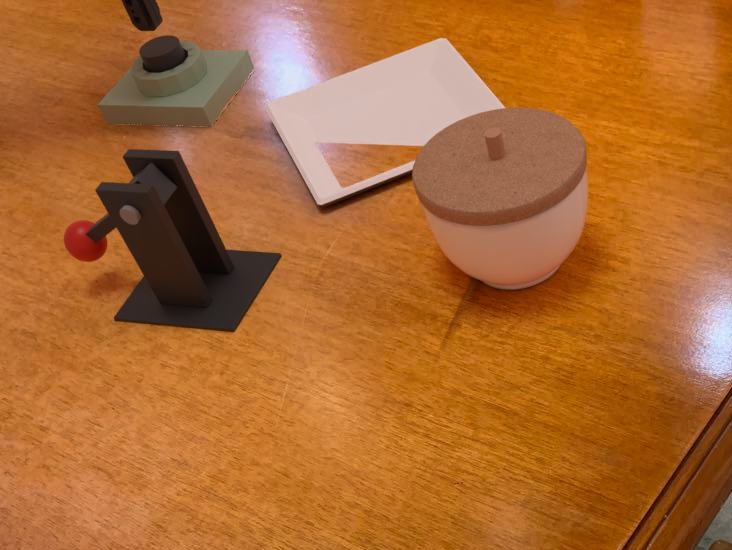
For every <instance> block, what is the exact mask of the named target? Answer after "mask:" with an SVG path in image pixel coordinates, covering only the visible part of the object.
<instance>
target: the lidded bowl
mask: <svg viewBox="0 0 732 550" xmlns="http://www.w3.org/2000/svg"><path fill="white" fill-rule="evenodd" d="M587 155H588V154H587V145H586V141H585V138H584V136H583V134H582V132H581V131H580V129H579V128H578V127H577V126H576V125H575V124H573V122H572V121H571V120H569V119H567V118H566V117H564V116H562V115H559V114H557V113H555V112H553V111H549V110H545V109H541V108H534V107H505V108H503V109H496V110H491V111H486V112H481V113H478V114H475V115H472V116H469V117H467V118H464V119H462V120H459V121H457V122H455V123H453V124H451V125H450V126H448V127H446V128H444V129H443V130H441V131H440V132H438V133H437V134H436V135H435V136H433V137H432V138H431V139H430V140H429V141H428V142H427V143H426V144H425V145H424V146H422V148H421V149H420V150H419V152H418V154H417V156H416V158H415V162H414V165H413V170H412V173H411V177H412V178H411V179H412V184H413V188H414V191H415V194H416V196H417V199H418V200H419V202H420V205H421V209H422V211H423V215H424V217H425V221H426V223H427V225H428V227H429V230H430V232H431V234H432V237H433V239H434V240H435V242H436V244H437V245H438V247H439V249H440V251H442V253H443V254H444V255H445V257H446V258H447V259H448V260H449V261H450V262H451V263H452V264H453V265H454V266H455V268H457V269H458V270H460V271H461V272H463V273H464V274H466V275H468V276H469V277H472V278H474V279H475V280H479V281H481V282H482V283H483V284H485V285H487V286H488V287H491V288H495V289H499V290H507V291H508V290H509V291H513V290H514V291H515V290H521V289H527V288H530V287H533V286H536V285H539V284H540V283H543V282H545V281H546V280H548V279H549V278H551V277H552V276H553V275H554V274H555V273H556V272H557V271H559V268H560V267H561V265H562V264H563V263H564V262H565V260H567V258H568V257H569V256H570V255H571V254H572V252H573V251H574V250H575V247H577V244H578V243H579V240H580V238H581V236H582V233H583V231H584V229H585V224H586V220H587V214H588V207H589V181H588V179H589V178H588V168H587V165H588V157H587Z"/></svg>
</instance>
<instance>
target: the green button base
mask: <svg viewBox="0 0 732 550" xmlns="http://www.w3.org/2000/svg"><path fill="white" fill-rule="evenodd" d="M179 41H180V43H181V45H182V48H183V50H184V52H185V54H186V57H187V59H186V60H185V61H184V62H183V63H182V64H180V65H179V66H177V67H175V68H173V69H172V70H168V71H164V72H161V73H149V72H148V71H147V68H146V66H145V64H144V62H143V60H142V58H141V56H140V54H139V55H138V56H137V57H136V59H134V61H133V62H131V65H130V67H129V68H128V69H127V71H126V72H125V73H124V74H123V75H122V76H121V77H120V78H119V79H118V81H117V82H116V83H115V84H114V86H113V87H112V88H111V89H110V90H109V91H108V92H107V93H106V94H105V96H104V97H103V98H102V99H101V100H100V102H98V104H97V107H98V108H99V110H100V112H101V115H102V116H103V118H104V119H105V122H106V123H107V125H108V124H126V125H125V126H128V125H127V124H130V125H129V126H138V125H140V124H141V125H163V126H162V127H171V126H176V125H178V126H179V125H181V126H182V125H183V126H204V127H205V126H206V127H207V126H208V127H212V125H213V124H214V123H215V121H216V119H217V118H218V117H219V115H220V113H221V111H222V110H223V108H224V107H225V106H226V104H227V103H228V102H229V101H230V99H231V98H232V97H233V96H234V95H235V94H236V92H237V91H238V90H239V89H240V88H241V86H242V84H243V83H244V82H245V80H246V79H247V78H248V76H249V74H250V73H251V72H252V70H253V69H255V65H254V63H253V61H252V58H251V56H250V53H249V51H248V49H201V47H200V46H199V45H197V44H196V43H194V42H192V41H190V40H179ZM132 124H133V125H132ZM134 124H135V125H134ZM137 124H138V125H137ZM215 124H216V123H215ZM215 124H214V125H215ZM164 125H165V126H164ZM166 125H167V126H166ZM204 127H203V128H204ZM212 128H213V127H212Z"/></svg>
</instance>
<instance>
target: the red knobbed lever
mask: <svg viewBox="0 0 732 550" xmlns="http://www.w3.org/2000/svg"><path fill="white" fill-rule="evenodd" d="M128 183H133V184H153V186H154V187H155V189H156V191H157V193H158V195H159V197H160V199H161V201H162V203H163V205H165V204H166V202H167V201H168V200H169V198H170V197H171V196H172V194H173V193H174V192H175V190H176V189H177V186H176V185H175V184H174V183H173V182H172V181H171V180H170V179H169V178H167V177H166V176H165V175H164V174H163V173H162V172H161V171H160V170H159V169H158V168H157V167H156V166H155V165H154V164H153V163H150V164H149V165H148V166H147V167H145V168H144V169H143V170H142V171H140V172H139V173H138V174H137V175H136V176H134V177H133V176H132V178H131V180H130V181H129V182H128ZM115 229H117V228H116V226H115V224H114V222H113V221H112V219H111V217H110V216H109V214H108V212H107V213H106V214H105V215H104V216H102V217H100V219H98V220H97V221H96V222H93V221H90V220H87V219H80V220H76V221H73V222H72V223H70V224H69V225H68V226H67V227H66V229H65V232H64V234H63V244H64V247H65V250H66V251H67V253H69V255H71V257H73V258H74V259H76V260H77V261H80V262H85V263H93V262H96V261H97V260H99V259H101V258H102V257H103V256H104V255H105V254H106V252H107V249H108V238H107V235H108V234H110V233H112V232H113V231H114V230H115Z"/></svg>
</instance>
